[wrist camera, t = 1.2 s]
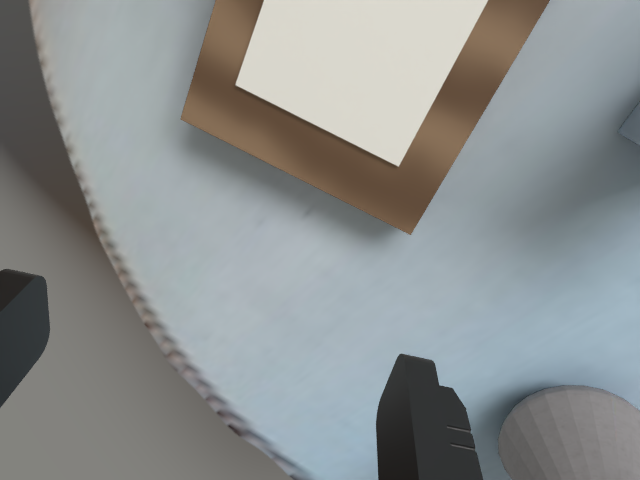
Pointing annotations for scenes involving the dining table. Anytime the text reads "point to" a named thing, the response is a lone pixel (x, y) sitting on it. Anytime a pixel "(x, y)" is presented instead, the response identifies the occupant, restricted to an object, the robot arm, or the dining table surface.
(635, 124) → the slate block
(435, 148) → the wooden board
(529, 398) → the coffee pot
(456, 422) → the robot arm
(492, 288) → the dining table surface
